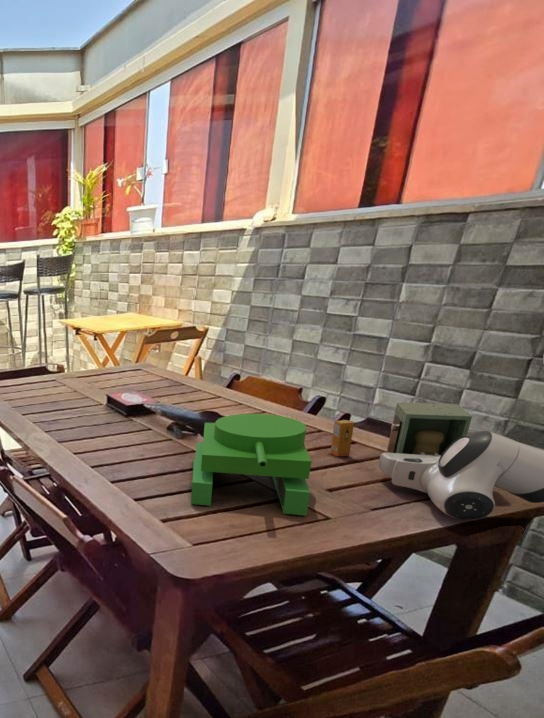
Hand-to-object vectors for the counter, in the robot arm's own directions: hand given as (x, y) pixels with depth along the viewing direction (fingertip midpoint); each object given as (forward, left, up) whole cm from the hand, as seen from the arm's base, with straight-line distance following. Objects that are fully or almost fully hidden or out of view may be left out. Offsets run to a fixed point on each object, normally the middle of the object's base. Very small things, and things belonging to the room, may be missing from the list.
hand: (427, 455), depth 123 cm
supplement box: (+16, -10, -5) cm, 19 cm away
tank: (+39, +22, -5) cm, 45 cm away
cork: (0, -2, -5) cm, 6 cm away
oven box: (0, -5, -5) cm, 7 cm away
